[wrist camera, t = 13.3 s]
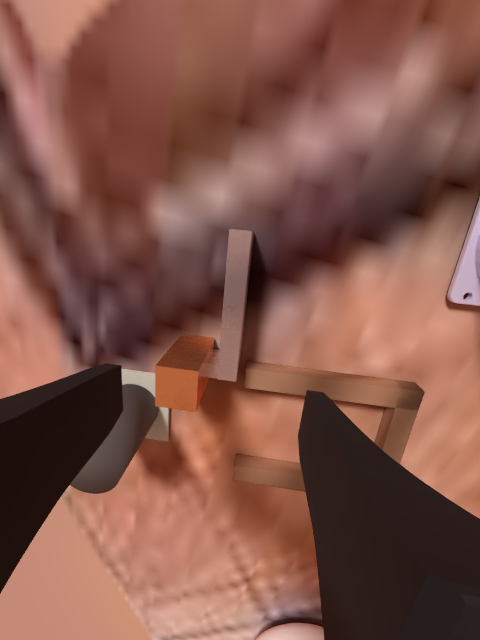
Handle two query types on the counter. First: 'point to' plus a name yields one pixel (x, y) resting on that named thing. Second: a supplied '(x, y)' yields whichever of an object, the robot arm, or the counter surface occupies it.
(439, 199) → the counter surface
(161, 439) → the off-white flat square block
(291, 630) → the flower in vase
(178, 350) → the latch bar
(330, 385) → the frame
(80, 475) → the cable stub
